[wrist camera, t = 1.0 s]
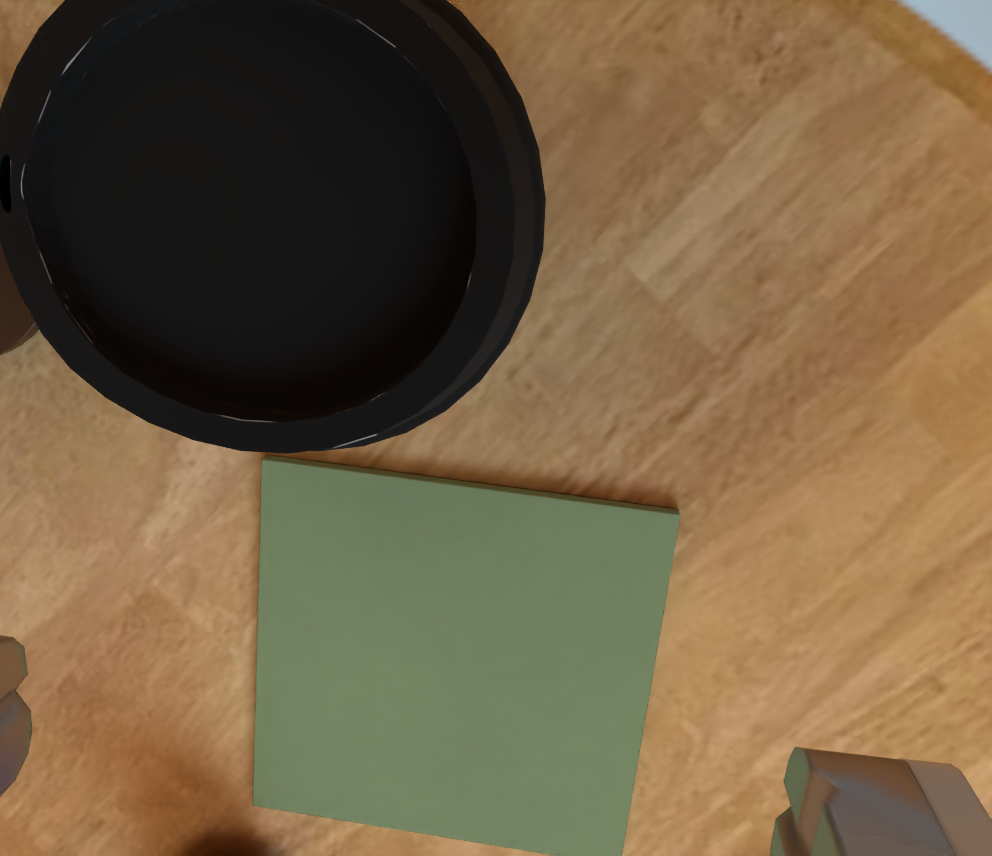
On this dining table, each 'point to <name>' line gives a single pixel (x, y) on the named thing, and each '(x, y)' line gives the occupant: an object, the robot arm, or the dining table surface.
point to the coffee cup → (271, 211)
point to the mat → (455, 654)
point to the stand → (12, 312)
